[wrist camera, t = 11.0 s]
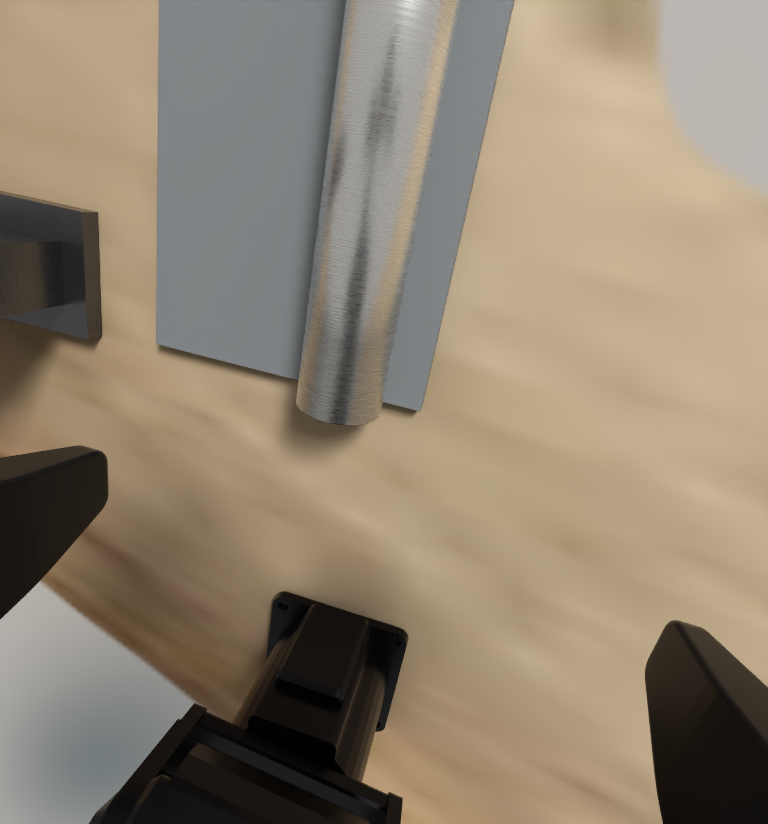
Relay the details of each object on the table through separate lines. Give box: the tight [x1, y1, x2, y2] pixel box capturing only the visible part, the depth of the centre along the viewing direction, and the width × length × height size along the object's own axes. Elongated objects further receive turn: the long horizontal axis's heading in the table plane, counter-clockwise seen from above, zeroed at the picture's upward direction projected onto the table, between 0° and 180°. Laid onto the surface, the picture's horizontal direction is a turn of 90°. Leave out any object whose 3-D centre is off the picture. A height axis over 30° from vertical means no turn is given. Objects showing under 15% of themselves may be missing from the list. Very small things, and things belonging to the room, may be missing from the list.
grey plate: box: [156, 0, 515, 411], centre depth 16 cm, size 24×11×1 cm, turn 169°
